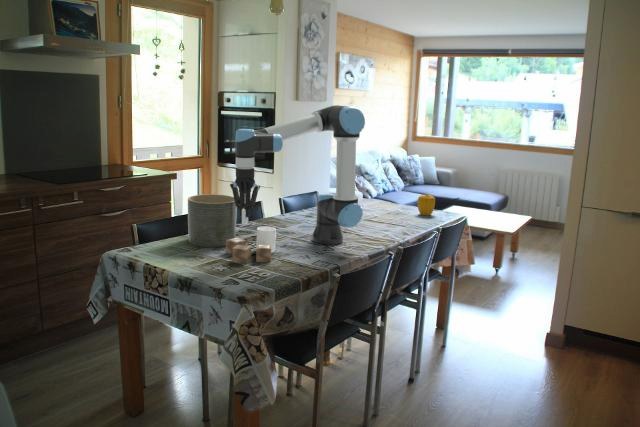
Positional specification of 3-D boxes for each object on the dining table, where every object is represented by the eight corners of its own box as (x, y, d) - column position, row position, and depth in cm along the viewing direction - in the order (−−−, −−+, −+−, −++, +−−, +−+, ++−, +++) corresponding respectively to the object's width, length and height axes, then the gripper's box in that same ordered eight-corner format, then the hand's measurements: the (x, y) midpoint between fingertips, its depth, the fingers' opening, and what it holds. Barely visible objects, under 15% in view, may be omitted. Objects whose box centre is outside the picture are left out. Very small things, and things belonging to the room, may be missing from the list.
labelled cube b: (271, 258, 233) (271, 244, 232) (270, 262, 227) (271, 248, 226) (256, 257, 233) (257, 244, 231) (256, 262, 227) (256, 248, 225)
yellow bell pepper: (421, 212, 347) (422, 192, 344) (436, 215, 341) (438, 194, 338) (413, 214, 338) (415, 194, 335) (429, 217, 332) (431, 196, 329)
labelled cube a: (245, 253, 238) (246, 239, 237) (235, 255, 234) (236, 242, 233) (236, 250, 242) (236, 237, 241) (226, 253, 237) (226, 239, 236)
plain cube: (251, 259, 229) (251, 246, 228) (246, 264, 223) (246, 249, 222) (237, 258, 230) (237, 244, 229) (232, 262, 224) (232, 248, 223)
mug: (268, 245, 251) (268, 224, 249) (283, 249, 248) (284, 226, 245) (252, 251, 241) (253, 228, 239) (268, 254, 237) (268, 231, 235)
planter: (177, 243, 248) (177, 199, 244) (204, 233, 268) (205, 192, 264) (220, 250, 241) (221, 205, 236) (244, 239, 261) (245, 197, 257)
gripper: (263, 167, 223) (263, 224, 228) (235, 165, 227) (235, 220, 232) (255, 170, 216) (254, 228, 221) (226, 167, 220) (226, 224, 225)
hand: (245, 224), depth 227 cm, fingers closed
